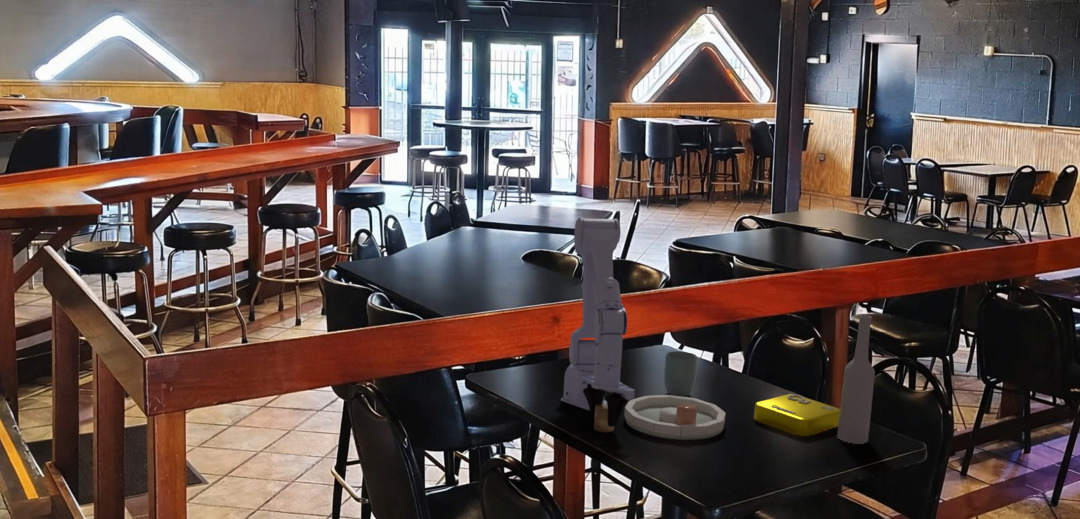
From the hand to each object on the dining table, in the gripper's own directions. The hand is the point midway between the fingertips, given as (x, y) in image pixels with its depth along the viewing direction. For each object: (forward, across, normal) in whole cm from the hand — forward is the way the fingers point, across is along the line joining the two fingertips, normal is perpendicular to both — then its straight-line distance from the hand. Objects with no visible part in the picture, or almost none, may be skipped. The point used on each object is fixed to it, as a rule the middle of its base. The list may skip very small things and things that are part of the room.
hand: (604, 422), depth 230 cm
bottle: (+2, +38, +40) cm, 55 cm away
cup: (+2, -6, +34) cm, 35 cm away
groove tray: (+1, +7, +16) cm, 18 cm away
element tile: (+2, +24, +40) cm, 47 cm away
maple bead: (+1, 0, 0) cm, 1 cm away
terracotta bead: (0, +13, +13) cm, 18 cm away
